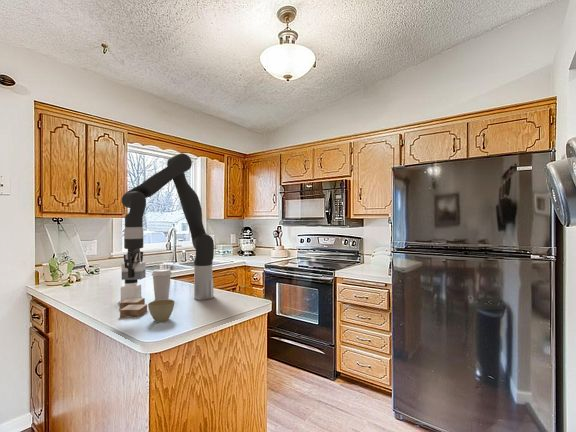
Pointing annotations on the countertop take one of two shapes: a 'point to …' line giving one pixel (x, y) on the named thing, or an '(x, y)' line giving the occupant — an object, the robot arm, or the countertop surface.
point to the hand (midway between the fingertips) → (134, 276)
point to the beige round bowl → (161, 309)
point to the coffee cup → (161, 283)
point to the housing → (135, 271)
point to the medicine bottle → (130, 290)
